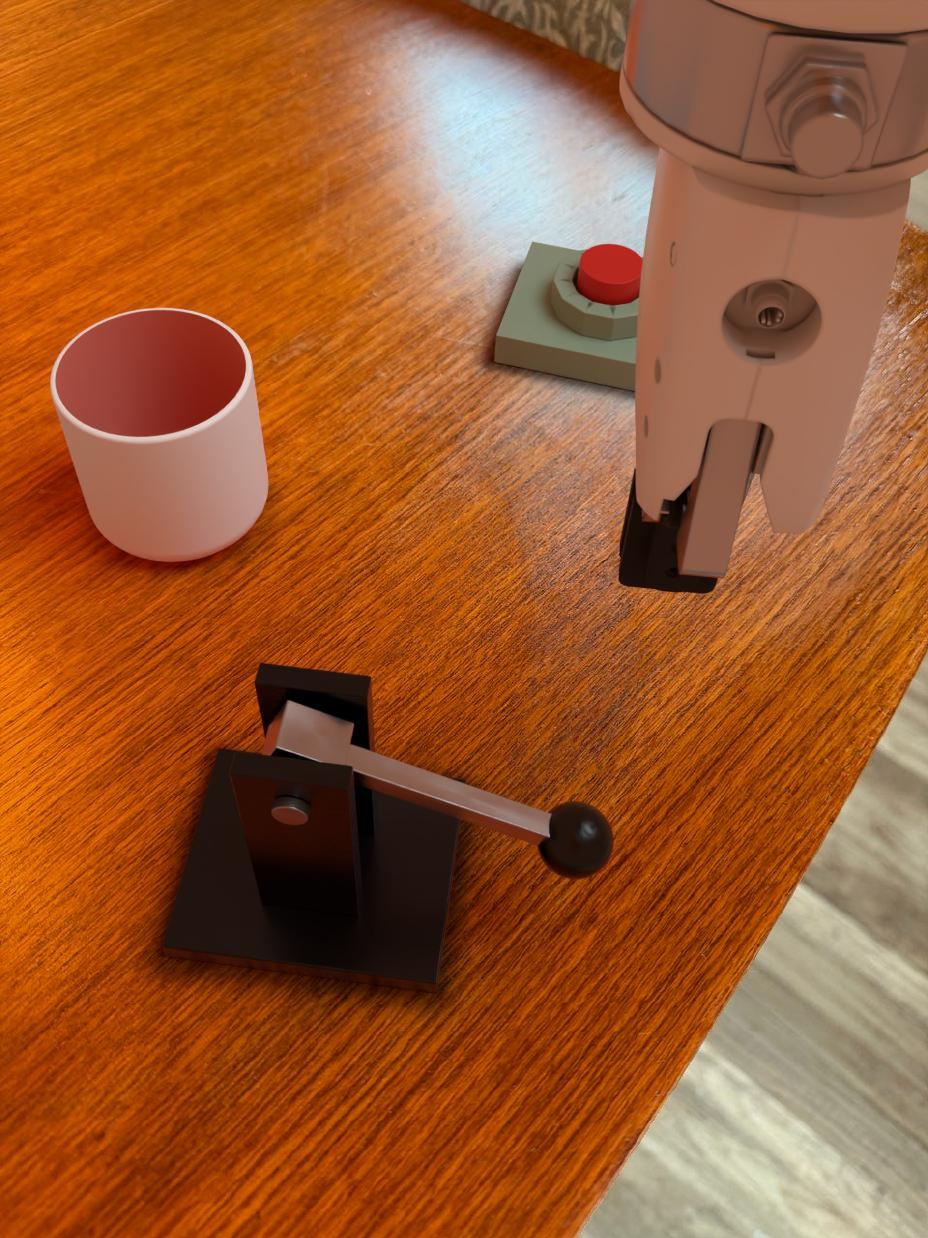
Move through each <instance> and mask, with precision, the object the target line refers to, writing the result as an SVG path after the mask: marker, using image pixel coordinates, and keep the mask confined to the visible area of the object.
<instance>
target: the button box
mask: <svg viewBox="0 0 928 1238" xmlns="http://www.w3.org/2000/svg"><path fill="white" fill-rule="evenodd" d="M587 249H588V248H586V249H579V250H578V249H573V248H568V247H563V246H558V245H553V244H548V243H542V242H538V241H537V242H536V241H531V244H530V247H529V249H528V251H527V254H526V257H525V258H524V259H525V260H524V261H523V264H522V267H521V270H520V272H519V275H518V278H517V280H516V283H515V285H514V288H513V290H512V293H511V295H510V298H509V301H508V302H507V306H506V307H505V311H504V313H503V316H502V319H501V321H500V324H499V326H498V329H497V331H496V334H495V343H494V358H493V362H494V363H499V364H502V365H507V366H512V367H517V368H522V369H525V370H531V371H536V372H541V373H546V374H551V375H555V376H559V377H564V378H570V379H575V380H579V381H584V382H590V383H594V384H599V385H604V386H609V387H611V388H612V387H613V388H618V389H623V390H626V391H627V390H628V391H632V392H635V374H636V340H637V320H638V303H639V295H638V296H637V298H636V299H635V300H633V301H632V302H630V303H628V304H621V305H614V306H611V305H606V304H601V303H596V302H592V301H590V300H589V299H587V298H585V297H584V296H582V295H581V293H580V292H579V290H578V287H577V279H578V271H579V264H580V258H581V256H582V254H583V253H584V252H585V251H586V250H587ZM639 256H640V257H641V258H642V260H643V256H641V255H639Z"/></svg>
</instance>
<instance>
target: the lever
mask: <svg viewBox="0 0 928 1238" xmlns="http://www.w3.org/2000/svg"><path fill="white" fill-rule="evenodd" d="M353 728H354V723H353V722H351V721H348V720H345V719H342V718H340V717H337V716H334V715H331V714H328V713H325V712H323V711H320V710H317V709H314V708H311V707H309V706H306V705H303V704H300V703H297V702H294V701H292V700H287V701H286V703H285V704H284V706H283V707H282V708H281V710H280V711H279V713H278V714H277V715H276V717H275V718H274V720H273V721H272V722H271V724H270V725H269V727H268V731H267V735H266V739H265V738H264V743H263V747H262V750H261V754H262V755H270V756H277V757H285V758H293V759H301V760H309V761H317V762H325V763H333V764H340V765H348V766H352V767H353V776H354V784H357V785H360V786H363V787H366V788H369V789H372V790H375V791H378V792H381V793H384V794H387V795H390V796H393V797H396V798H399V799H401V800H404V801H407V802H410V803H413V804H416V805H419V806H422V807H425V808H428V809H431V810H434V811H437V812H440V813H443V814H446V815H449V816H452V817H455V818H458V819H461V821H464V822H466V823H470V824H473V825H476V826H479V827H481V828H484V829H488V830H490V831H492V832H496V833H499V834H503V835H506V836H508V837H511V838H514V839H517V840H520V841H523V842H525V843H529V844H531V845H535V846H536V849H537V853H538V855H539V857H540V859H541V861H542V862H543V864H544V865H545V867H546V868H548V869H549V871H551V872H552V873H553V874H555V875H557V876H559V877H561V878H563V879H568V880H585V879H587V878H590V877H592V876H594V875H597V874H598V873H599V872H600V871H602V870H603V869H604V868H605V866H607V864H608V862H609V861H610V858H611V857H612V854H613V852H614V851H613V850H614V846H615V845H614V844H615V839H614V837H615V836H614V831H613V828H612V826H611V823H610V821H609V820H608V818H607V817H606V816H605V814H604V813H603V812H602V811H601V810H600V809H599V808H597V807H596V806H594V805H592V804H590V803H587V802H585V801H578V800H576V801H575V800H571V801H564V802H562V803H558V804H557V805H555V806H553V807H552V808H551V809H549V810H548V811H545V810H542V809H539V808H536V807H533V806H530V805H528V804H525V803H522V802H520V801H519V802H518V801H516V800H514V799H511V798H508V797H504V796H502V795H499V794H495V793H494V792H491V791H487V790H485V789H482V788H480V787H479V788H478V787H476V786H472V785H469V784H467V783H466V784H464V783H462V782H459V781H456V780H453V779H450V778H451V777H450V778H447V777H448V776H444V775H441V774H440V773H439V774H438V773H435V772H433V771H430V770H427V769H424V768H421V767H419V766H416V765H413V764H410V763H407V762H404V761H401V760H399V759H395V758H392V757H390V756H387V755H383V754H381V753H378V752H376V751H375V752H372V751H370V750H367V749H364V748H361V747H358V746H355V745H352V744H350V742H351V737H352V733H353Z"/></svg>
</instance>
